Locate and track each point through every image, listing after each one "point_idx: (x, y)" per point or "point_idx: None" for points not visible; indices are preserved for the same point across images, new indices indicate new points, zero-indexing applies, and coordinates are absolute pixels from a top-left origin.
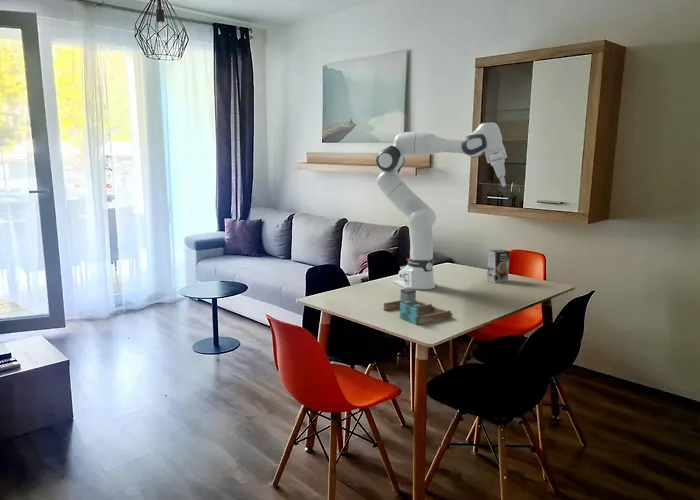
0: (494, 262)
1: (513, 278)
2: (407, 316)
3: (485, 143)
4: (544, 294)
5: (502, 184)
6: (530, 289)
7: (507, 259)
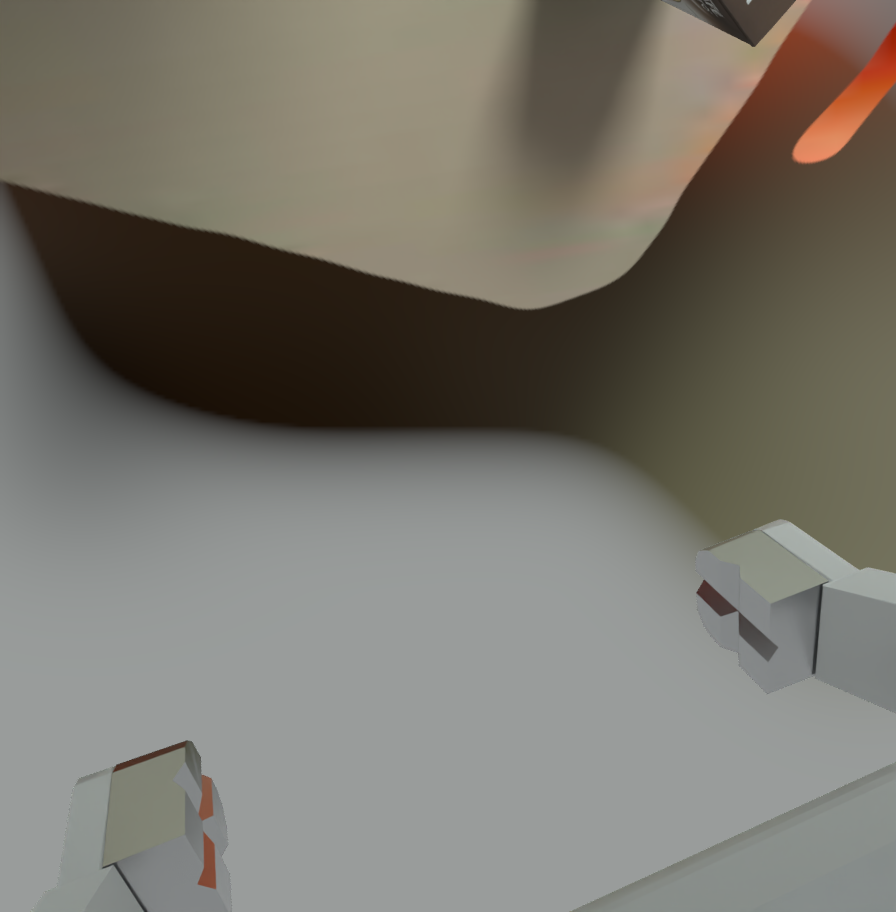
0: None
1: None
2: None
3: None
4: (361, 253)
5: (81, 842)
6: (448, 164)
7: (703, 13)
